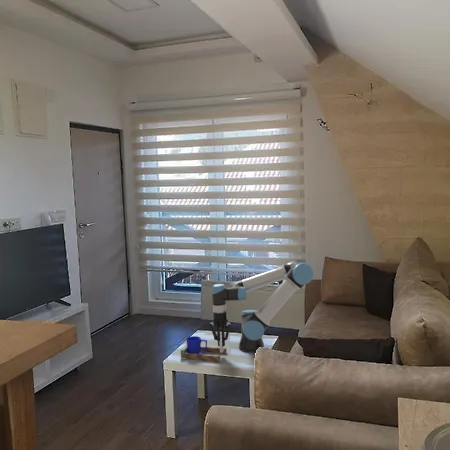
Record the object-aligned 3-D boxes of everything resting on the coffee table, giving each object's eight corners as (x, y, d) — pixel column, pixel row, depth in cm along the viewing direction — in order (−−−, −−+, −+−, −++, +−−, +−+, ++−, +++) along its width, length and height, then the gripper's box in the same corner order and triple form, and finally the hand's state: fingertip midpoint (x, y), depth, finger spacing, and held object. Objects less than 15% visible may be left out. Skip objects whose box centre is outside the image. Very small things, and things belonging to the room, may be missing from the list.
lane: (226, 352, 278) (226, 344, 277) (219, 361, 263) (219, 353, 263) (189, 349, 284) (189, 341, 283) (180, 358, 269) (180, 350, 269)
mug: (205, 358, 269) (205, 341, 268) (185, 357, 271) (184, 340, 270) (208, 353, 277) (208, 336, 276) (188, 352, 279) (188, 335, 278)
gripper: (232, 309, 272) (234, 349, 273) (210, 309, 275) (212, 349, 277) (229, 313, 264) (231, 354, 266) (206, 313, 268) (209, 353, 269)
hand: (221, 351), depth 271 cm, fingers closed
